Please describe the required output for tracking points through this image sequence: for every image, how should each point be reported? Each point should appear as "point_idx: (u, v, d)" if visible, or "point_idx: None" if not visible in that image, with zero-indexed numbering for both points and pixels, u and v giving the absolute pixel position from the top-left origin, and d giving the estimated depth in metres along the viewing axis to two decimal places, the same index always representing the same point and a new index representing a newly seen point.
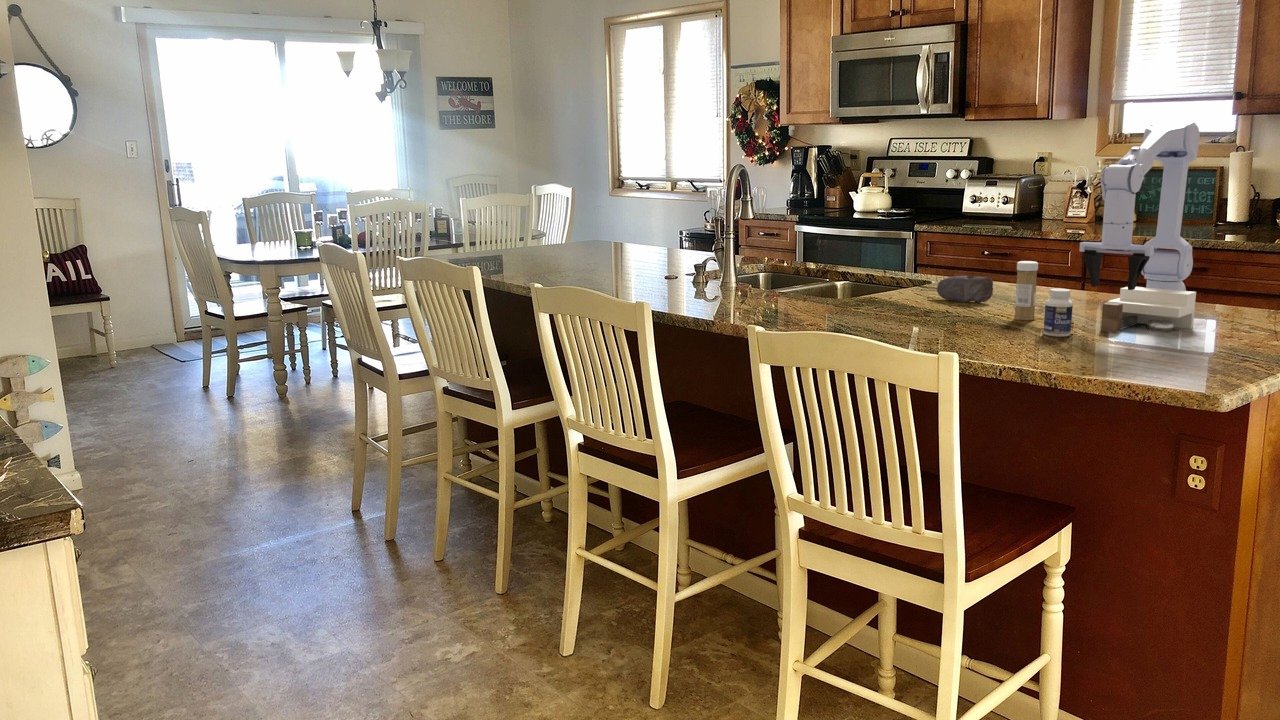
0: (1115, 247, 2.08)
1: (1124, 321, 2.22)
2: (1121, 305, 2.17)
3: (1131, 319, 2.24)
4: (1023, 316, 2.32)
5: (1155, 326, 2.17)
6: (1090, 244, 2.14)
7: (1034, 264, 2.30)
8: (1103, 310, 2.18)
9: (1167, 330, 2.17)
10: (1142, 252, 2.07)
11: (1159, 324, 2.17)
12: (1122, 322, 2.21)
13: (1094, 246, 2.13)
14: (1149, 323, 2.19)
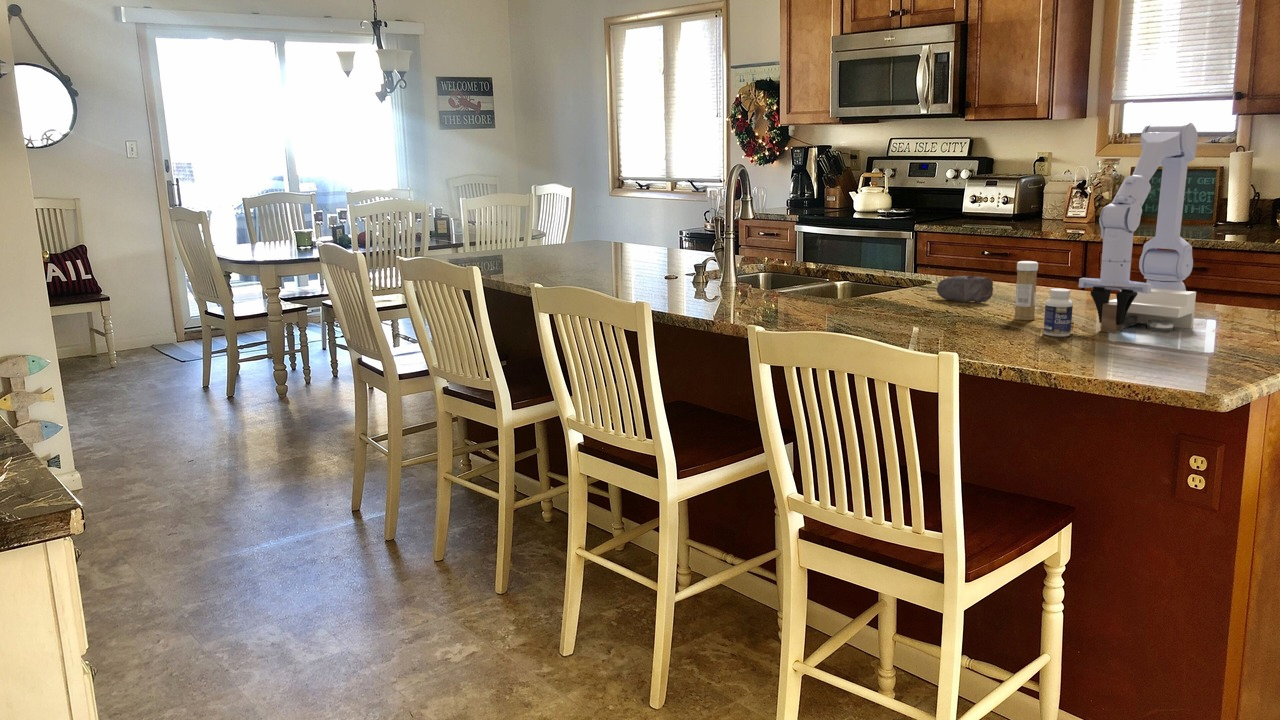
0: (1113, 284, 2.14)
1: (1124, 321, 2.22)
2: None
3: (1131, 319, 2.24)
4: (1023, 316, 2.32)
5: (1155, 326, 2.17)
6: (1089, 280, 2.19)
7: (1034, 264, 2.30)
8: (1103, 310, 2.18)
9: (1167, 330, 2.17)
10: (1140, 289, 2.13)
11: (1159, 324, 2.17)
12: None
13: (1093, 282, 2.18)
14: (1149, 323, 2.19)
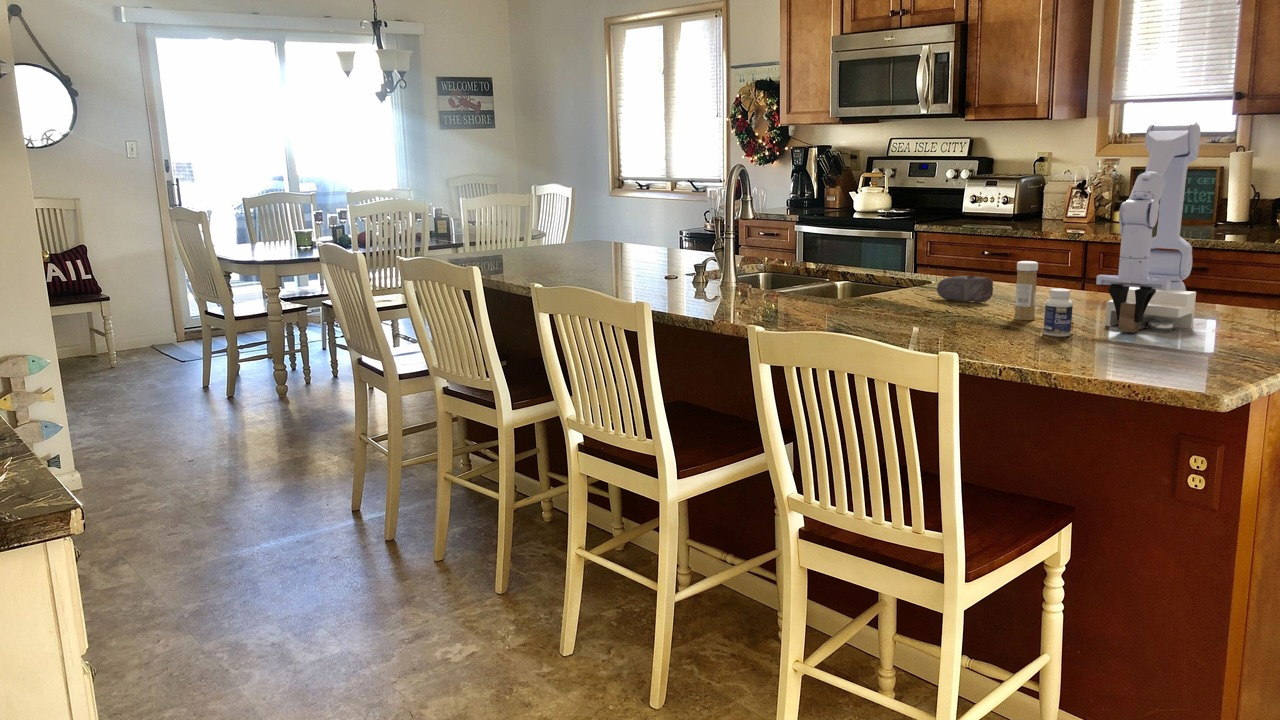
0: (1132, 281, 2.11)
1: (1142, 322, 2.19)
2: None
3: None
4: (1023, 316, 2.32)
5: (1155, 326, 2.17)
6: (1107, 277, 2.16)
7: (1034, 264, 2.30)
8: (1121, 309, 2.15)
9: (1167, 330, 2.17)
10: (1159, 286, 2.10)
11: (1159, 324, 2.17)
12: (1140, 322, 2.18)
13: (1111, 279, 2.15)
14: (1149, 323, 2.19)
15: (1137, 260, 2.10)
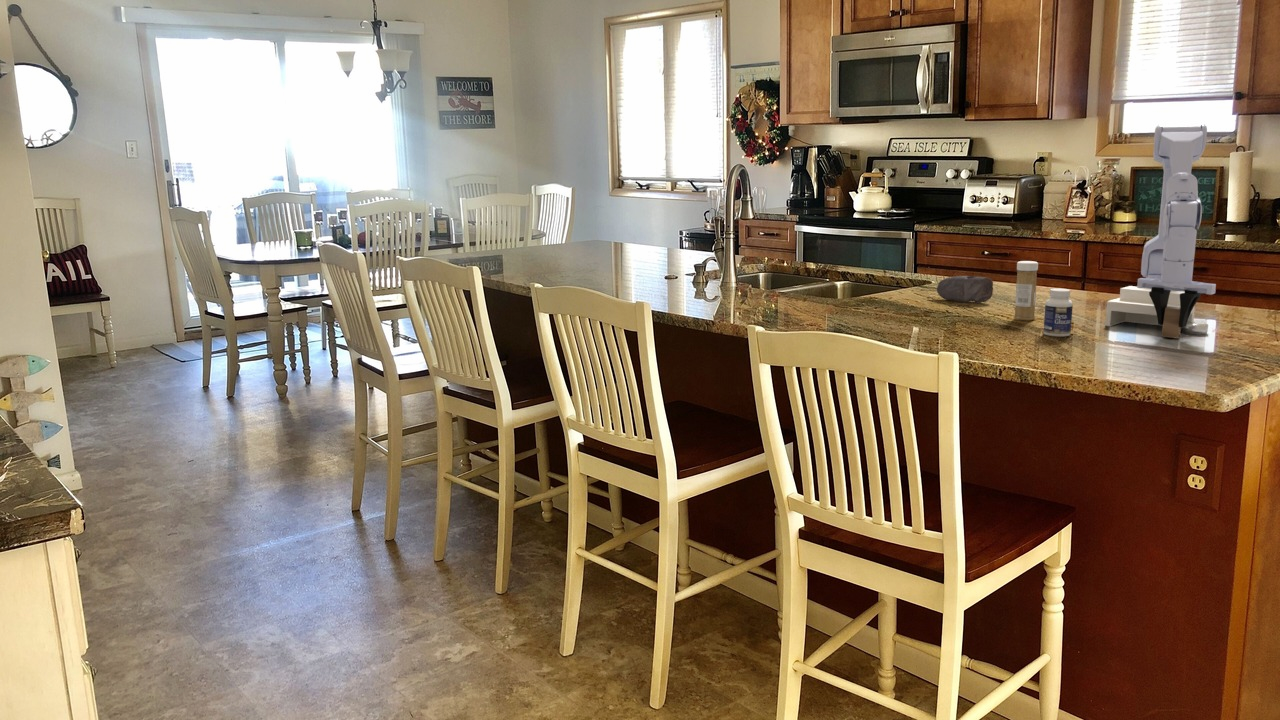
0: (1175, 285, 2.05)
1: None
2: None
3: None
4: (1023, 316, 2.32)
5: (1190, 329, 2.13)
6: (1149, 281, 2.10)
7: (1034, 264, 2.30)
8: (1165, 314, 2.09)
9: (1202, 333, 2.12)
10: (1203, 290, 2.03)
11: (1194, 327, 2.12)
12: None
13: (1153, 283, 2.09)
14: None
15: (1181, 263, 2.04)
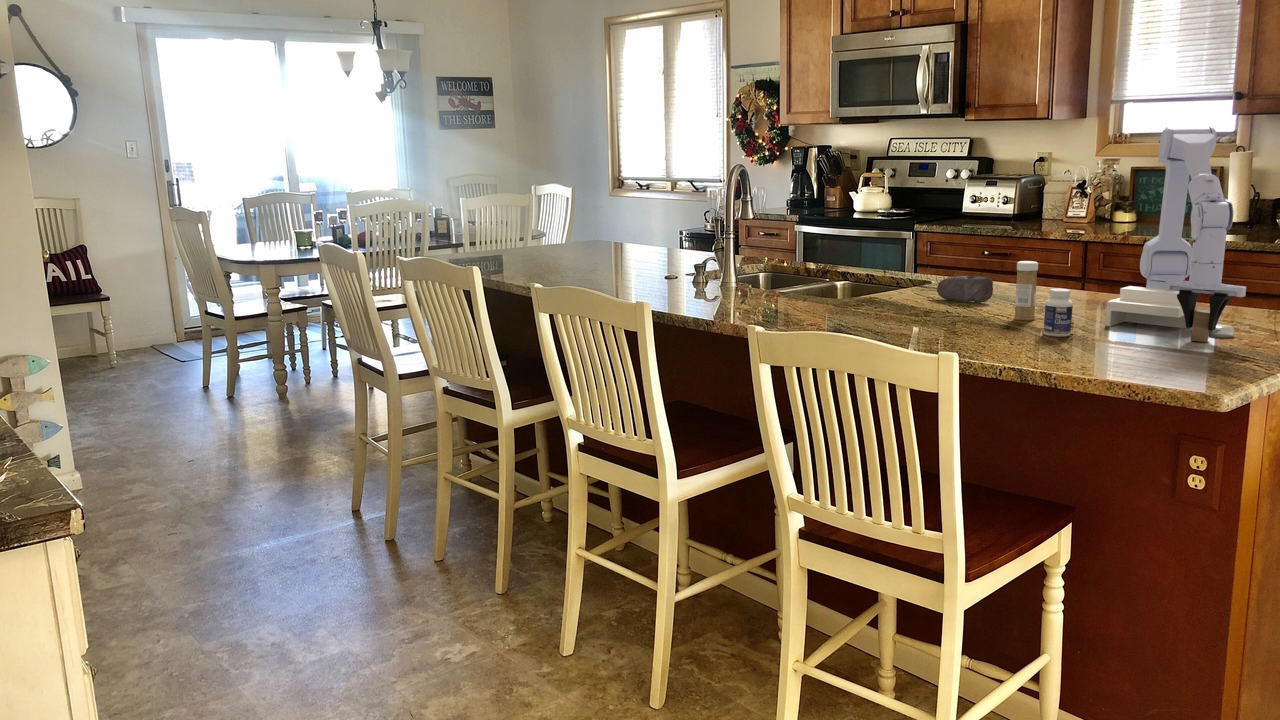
0: (1205, 287, 2.01)
1: None
2: None
3: None
4: (1023, 316, 2.32)
5: (1217, 332, 2.10)
6: (1177, 283, 2.06)
7: (1034, 264, 2.30)
8: (1194, 318, 2.05)
9: (1229, 335, 2.10)
10: (1233, 293, 1.99)
11: (1221, 329, 2.09)
12: None
13: (1181, 285, 2.05)
14: None
15: (1210, 265, 2.00)
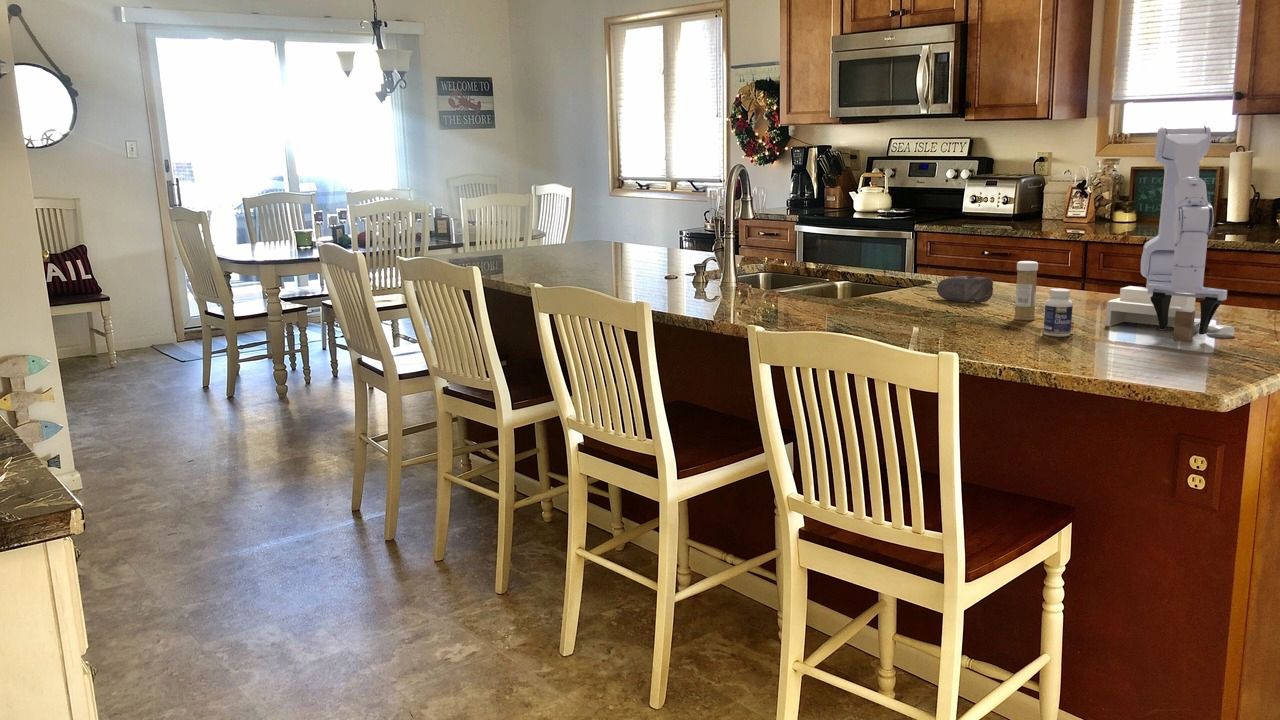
0: (1186, 291, 2.03)
1: (1192, 328, 2.12)
2: (1194, 312, 2.07)
3: (1196, 326, 2.15)
4: (1023, 316, 2.32)
5: (1217, 332, 2.10)
6: (1159, 286, 2.08)
7: (1034, 264, 2.30)
8: (1176, 317, 2.07)
9: (1229, 336, 2.10)
10: (1215, 296, 2.02)
11: (1221, 330, 2.09)
12: None
13: (1163, 289, 2.07)
14: (1210, 329, 2.11)
15: (1192, 269, 2.02)
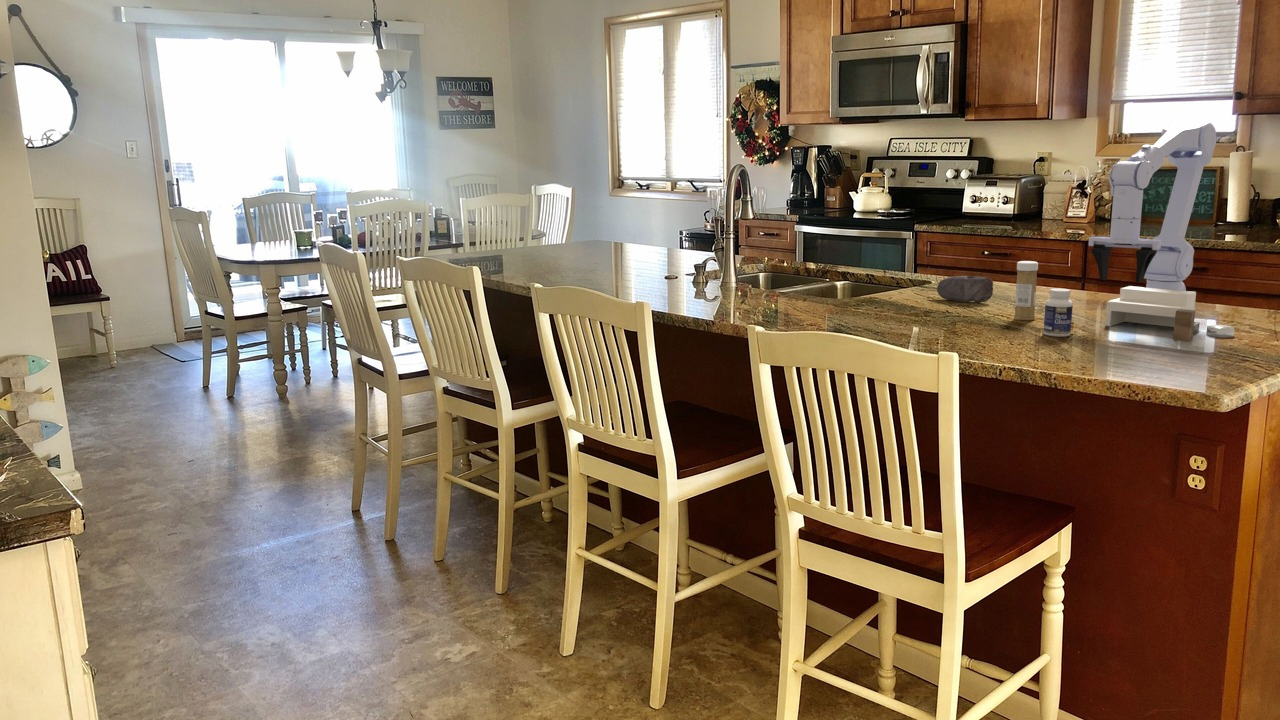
0: (1123, 241, 2.15)
1: (1192, 328, 2.12)
2: (1194, 312, 2.07)
3: (1196, 326, 2.15)
4: (1023, 316, 2.32)
5: (1217, 332, 2.10)
6: (1099, 238, 2.20)
7: (1034, 264, 2.30)
8: (1176, 317, 2.07)
9: (1229, 336, 2.10)
10: (1149, 246, 2.14)
11: (1221, 330, 2.09)
12: None
13: (1103, 240, 2.19)
14: (1210, 329, 2.11)
15: (1128, 220, 2.14)
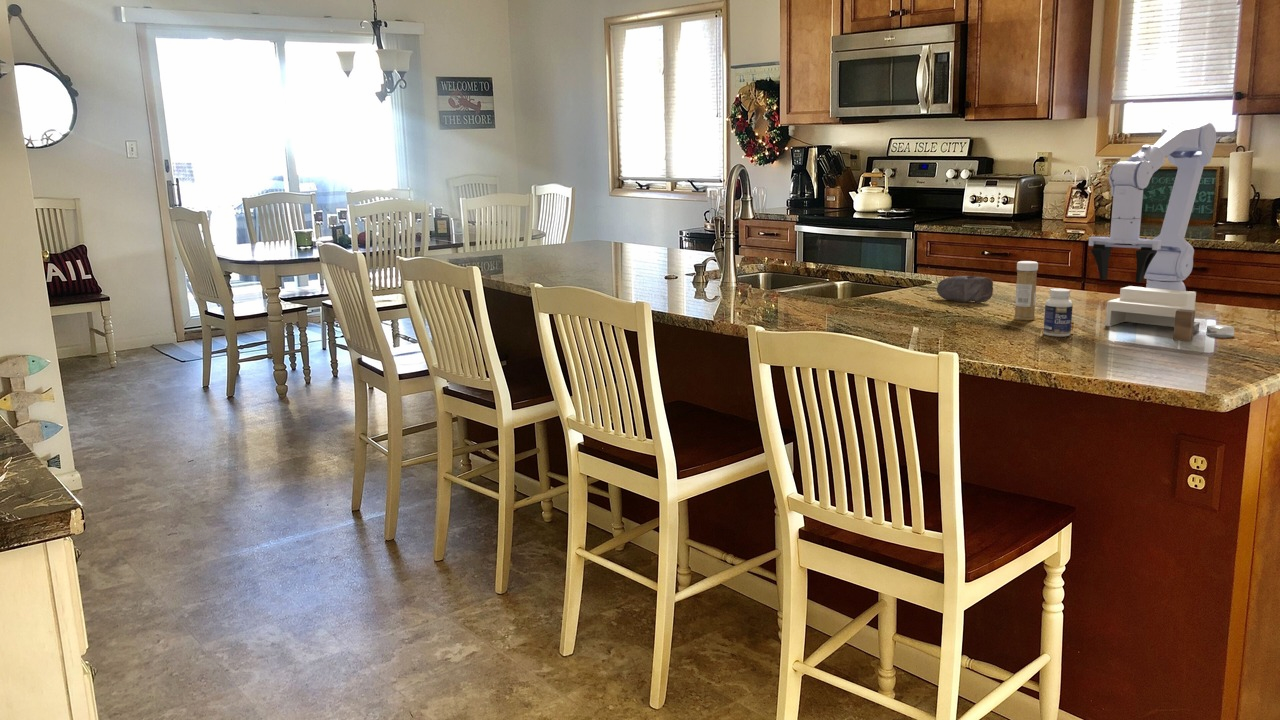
0: (1123, 241, 2.15)
1: (1192, 328, 2.12)
2: (1194, 312, 2.07)
3: (1196, 326, 2.15)
4: (1023, 316, 2.32)
5: (1217, 332, 2.10)
6: (1099, 238, 2.20)
7: (1034, 264, 2.30)
8: (1176, 317, 2.07)
9: (1229, 336, 2.10)
10: (1149, 246, 2.14)
11: (1221, 330, 2.09)
12: None
13: (1103, 240, 2.19)
14: (1210, 329, 2.11)
15: (1128, 220, 2.14)
